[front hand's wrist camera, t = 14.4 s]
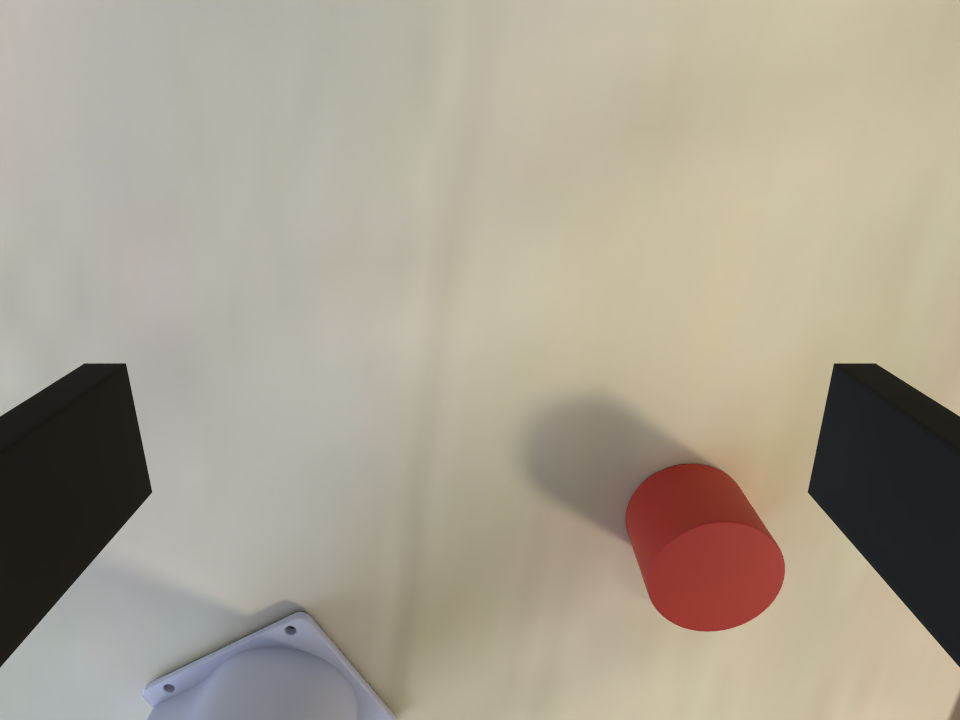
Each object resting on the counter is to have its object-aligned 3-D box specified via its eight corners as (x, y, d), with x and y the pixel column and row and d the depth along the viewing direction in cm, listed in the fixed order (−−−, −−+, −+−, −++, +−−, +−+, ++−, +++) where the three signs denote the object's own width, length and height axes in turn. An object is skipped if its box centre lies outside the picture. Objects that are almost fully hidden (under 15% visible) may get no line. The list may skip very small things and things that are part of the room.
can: (683, 441, 26) (716, 497, 23) (769, 506, 27) (814, 569, 24) (601, 523, 28) (619, 588, 24) (685, 581, 29) (715, 652, 25)
